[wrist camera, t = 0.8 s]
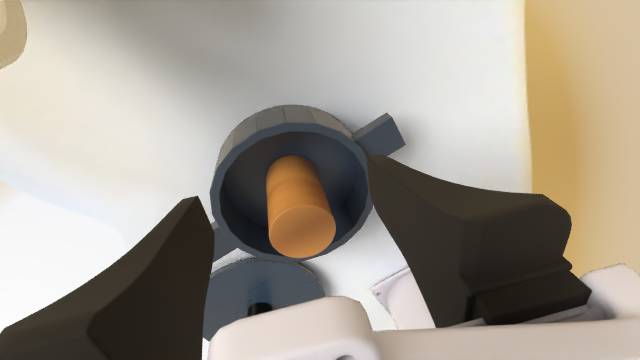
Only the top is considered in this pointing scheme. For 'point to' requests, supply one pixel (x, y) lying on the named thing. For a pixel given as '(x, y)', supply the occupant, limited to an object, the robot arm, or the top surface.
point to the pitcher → (11, 31)
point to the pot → (303, 140)
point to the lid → (256, 291)
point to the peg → (297, 208)
